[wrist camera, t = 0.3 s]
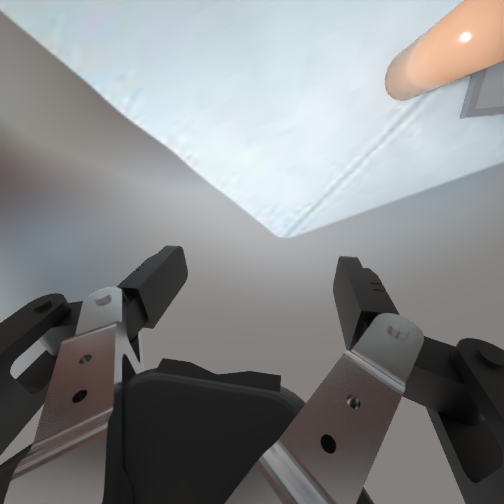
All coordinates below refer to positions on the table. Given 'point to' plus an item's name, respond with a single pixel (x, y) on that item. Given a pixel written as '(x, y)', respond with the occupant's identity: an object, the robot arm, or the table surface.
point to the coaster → (485, 92)
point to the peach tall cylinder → (449, 50)
